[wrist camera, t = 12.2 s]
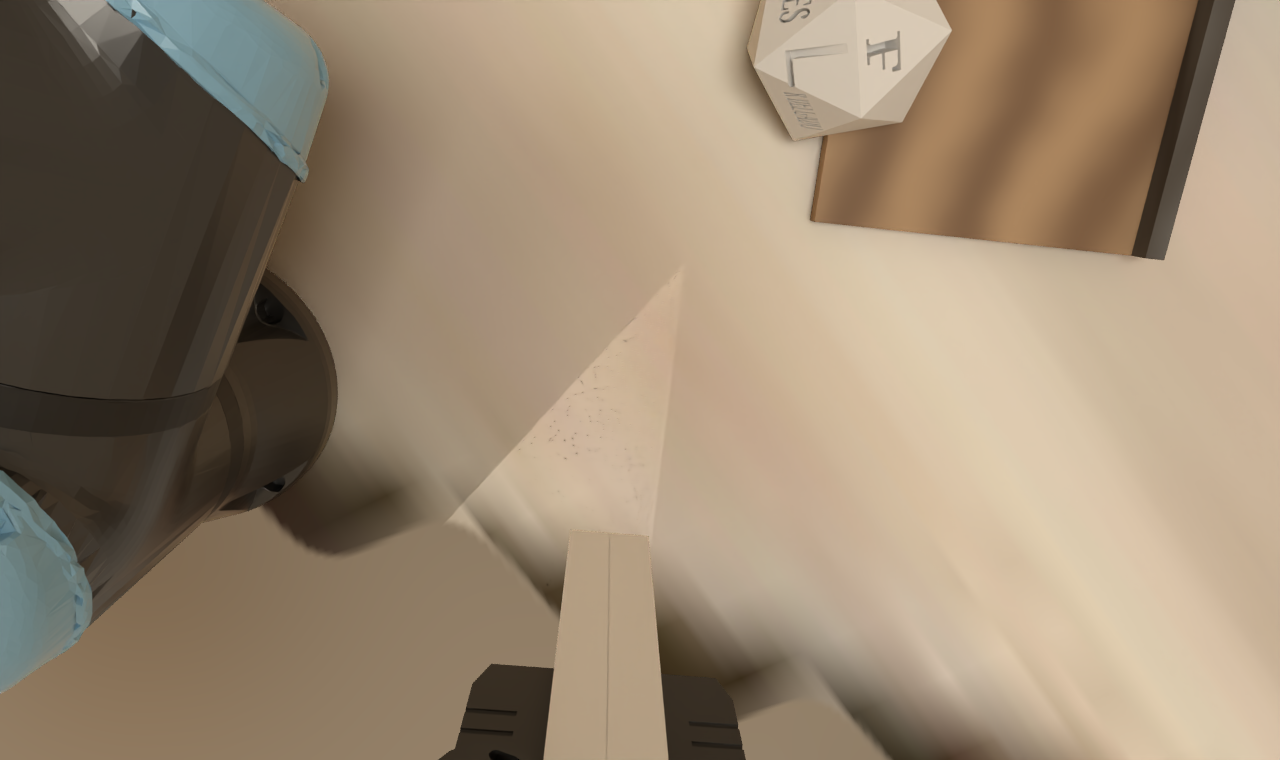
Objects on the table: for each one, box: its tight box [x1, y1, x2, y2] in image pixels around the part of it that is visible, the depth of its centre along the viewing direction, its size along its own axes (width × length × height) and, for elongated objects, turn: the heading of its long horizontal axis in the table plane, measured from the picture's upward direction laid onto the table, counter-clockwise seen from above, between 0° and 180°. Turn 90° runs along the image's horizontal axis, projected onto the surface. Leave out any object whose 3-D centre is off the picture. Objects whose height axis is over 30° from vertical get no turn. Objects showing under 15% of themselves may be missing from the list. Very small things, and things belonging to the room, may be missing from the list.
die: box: [747, 0, 952, 141], centre depth 38 cm, size 8×9×10 cm
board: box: [810, 0, 1235, 260], centre depth 40 cm, size 18×16×2 cm
